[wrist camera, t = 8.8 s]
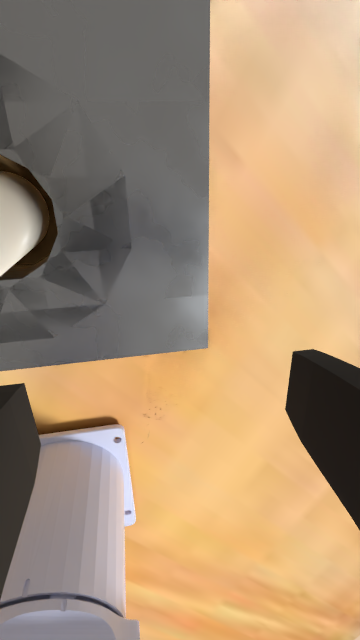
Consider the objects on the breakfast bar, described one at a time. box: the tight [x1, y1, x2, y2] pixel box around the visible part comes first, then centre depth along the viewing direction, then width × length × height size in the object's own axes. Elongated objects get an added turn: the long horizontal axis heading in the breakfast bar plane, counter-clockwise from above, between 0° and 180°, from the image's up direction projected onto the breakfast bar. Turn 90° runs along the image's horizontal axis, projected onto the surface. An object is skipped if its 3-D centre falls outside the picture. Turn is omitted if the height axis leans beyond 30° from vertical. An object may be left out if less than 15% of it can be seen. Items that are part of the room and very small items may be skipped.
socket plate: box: [0, 0, 210, 371], centre depth 14 cm, size 14×18×2 cm
